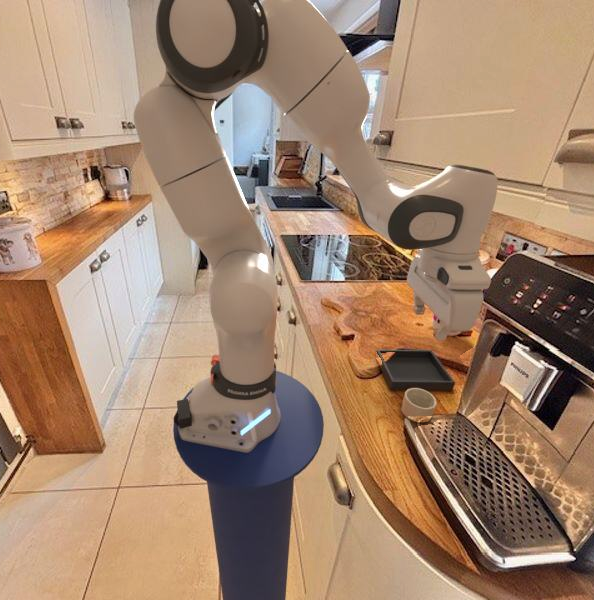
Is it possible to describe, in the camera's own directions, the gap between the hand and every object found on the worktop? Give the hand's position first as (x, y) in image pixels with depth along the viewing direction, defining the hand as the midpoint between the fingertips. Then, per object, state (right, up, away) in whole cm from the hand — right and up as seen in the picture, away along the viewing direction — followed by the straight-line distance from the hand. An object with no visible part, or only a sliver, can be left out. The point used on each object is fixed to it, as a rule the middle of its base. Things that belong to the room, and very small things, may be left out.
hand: (427, 325), depth 66 cm
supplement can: (+22, -4, +32) cm, 39 cm away
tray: (+4, -13, +15) cm, 20 cm away
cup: (-1, -19, +4) cm, 20 cm away
